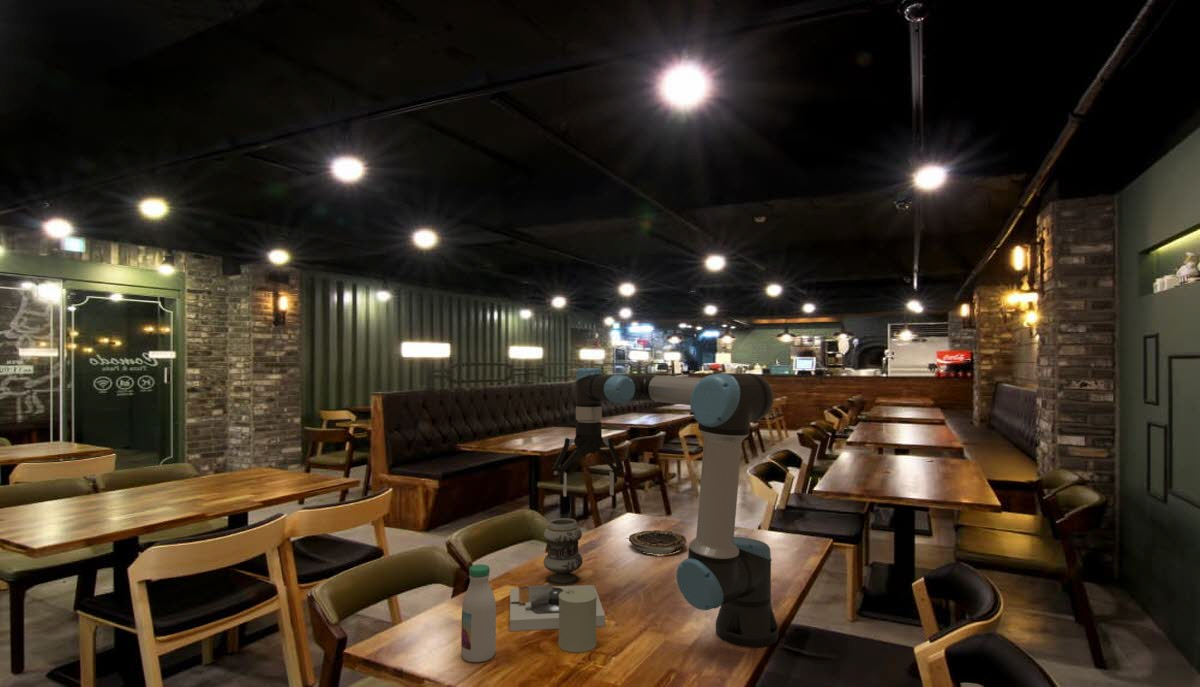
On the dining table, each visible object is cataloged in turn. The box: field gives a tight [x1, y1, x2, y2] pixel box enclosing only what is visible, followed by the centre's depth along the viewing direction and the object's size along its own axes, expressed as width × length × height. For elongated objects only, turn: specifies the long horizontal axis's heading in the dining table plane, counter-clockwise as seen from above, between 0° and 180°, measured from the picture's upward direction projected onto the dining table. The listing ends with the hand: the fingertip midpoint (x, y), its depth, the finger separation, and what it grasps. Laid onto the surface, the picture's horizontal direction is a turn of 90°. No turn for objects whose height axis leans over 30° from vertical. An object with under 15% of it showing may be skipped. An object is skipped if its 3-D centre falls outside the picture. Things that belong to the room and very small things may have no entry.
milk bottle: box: [460, 563, 497, 663], centre depth 143 cm, size 8×8×20 cm
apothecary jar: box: [543, 517, 583, 586], centre depth 193 cm, size 12×12×18 cm
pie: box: [626, 529, 687, 555], centre depth 226 cm, size 28×27×5 cm
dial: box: [518, 583, 563, 614], centre depth 168 cm, size 16×13×6 cm
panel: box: [509, 584, 606, 632], centre depth 168 cm, size 22×24×3 cm
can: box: [557, 588, 598, 654], centre depth 149 cm, size 9×9×12 cm
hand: (588, 495), depth 180 cm, fingers open, 13 cm apart
